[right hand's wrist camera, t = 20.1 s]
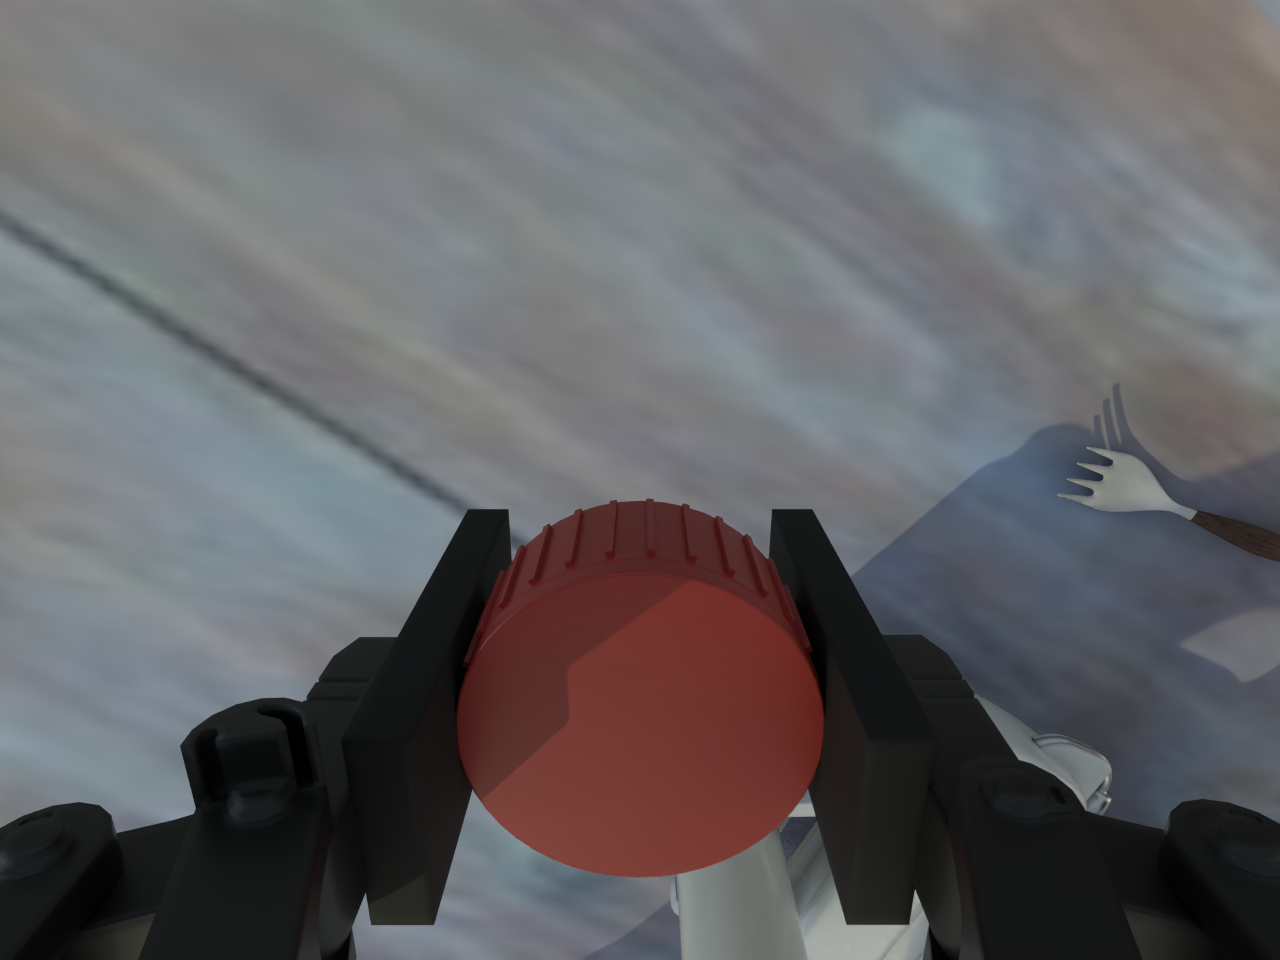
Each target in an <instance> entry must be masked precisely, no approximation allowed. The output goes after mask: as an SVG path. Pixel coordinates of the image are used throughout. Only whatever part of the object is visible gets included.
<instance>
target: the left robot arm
mask: <svg viewBox="0 0 1280 960" xmlns="http://www.w3.org/2000/svg"><path fill="white" fill-rule="evenodd" d="M974 698H977V699H978V700H979V702H980V703H981V704H982V706H983V707H984V709H985V710H986V712H987V713H988V715H989V716H990V718H991V719H992V721H993V722H994V724H995V725H996V727H997V728H998V730H999V731H1000V733H1001V734H1002V736H1003V737H1004V739H1005V740H1006V742H1007V743H1008V744H1009V746H1010V747H1011V749H1012V750H1013V752H1014V753H1015V755H1016V756H1017V758H1018V759H1019V760H1021V761H1025V762H1029V763H1032V764H1034V765H1036V766H1038V767H1040V768H1042V769H1044V770H1046V771H1048V772H1050V773H1051V774H1053V775H1055V776H1056V777H1057V778H1059V779H1060V780H1061V781H1062V782H1063V783H1065V784H1066V785H1067V786H1068V787H1069V788H1071V789H1072V790H1073V791H1074V793H1075V794H1076V796H1077V797H1078V799H1079V800H1080V802H1081V803H1082V805H1083V807H1084V808H1085V810H1086V811H1089V812H1092V813H1095V814H1099V815H1103V814H1104V813H1105V812H1106V810H1107V809H1108V807H1109V805H1110V803H1111V801H1112V796H1111V794H1110V793H1109V792H1108V789H1109V787H1110V785H1111V782H1112V767H1111V765H1110V762H1109V761H1108V759H1107V758H1106V757H1105V756H1104V755H1103V754H1102V753H1101V752H1100V751H1098V750H1097V749H1094V748H1093V747H1091V746H1089V745H1086V744H1084V743H1082V742H1079V741H1077V740H1074V739H1072V738H1070V737H1067V736H1065V735H1061V734H1043V735H1038V734H1037V733H1036V732H1035V731H1033V730H1032V729H1031V728H1029V727H1028V726H1027V725H1025V724H1024V723H1023V722H1021V721H1020V720H1018V719H1017V718H1015V717H1014V716H1012V715H1011V714H1009V713H1008V712H1006V711H1005V710H1003V709H1001V708H1000V707H998V706H996V705H995V704H993V703H991V702H990V701H988V700H986V699H984V698H982V697H980V696H979V695H977V694H975V693H974ZM788 817H815V812H814V809H813V805H812V802H811V798H810V795H809V791H808V789H807V791H806V793H805V795H804V796H803V798H802V799H801V801H800V802H799V803H798V805H797V806H796V807H795V809H794V810H793V811H792V813H791V814H790V815H789V816H788ZM776 829H777V828H776ZM776 829H775V830H776ZM787 867H788V871H789V875H790V880H791V884H792V889H793V893H794V897H795V902H796V906H797V911H798V915H799V919H800V924H801V928H802V933H803V937H804V941H805V946H806V950H807V955H808V959H809V960H923V954H924V948H925V943H926V937H927V931H928V926H929V923H928V920H927V918H926V915H925V913H924V910H923V908H922V905H921V903H920V900H919V898H918V895H917V893H916V890H915V893H914V899H913V905H912V911H911V917H910V923H909V925H846V921H845V918H844V914H843V911H842V907H841V904H840V900H839V897H838V893H837V890H836V886H835V883H834V879H833V876H832V872H831V869H830V865H829V861H828V858H827V854H826V851H825V847H824V844H823V840H822V837H821V833H820V830H819V826H818V823H817V821H816V823H815V824H814V825H813V827H812V828H811V830H810V831H809V832H808V834H807V835H806V837H805V838H804V840H803V841H802V842H801V844H800V845H799V847H798V848H797V849H796V851H795V852H794V854H793V855H792V857H791V858H790V859H789V861H788V862H787ZM670 896H671V908H672V909H673V911H674V913H675V914H677V915H678V916H679V910H678V894H677V878H676V877H675V878H674V879H673V881H672V883H671V885H670Z"/></svg>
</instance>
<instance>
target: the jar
mask: <svg viewBox="0 0 1280 960" xmlns="http://www.w3.org/2000/svg"><path fill="white" fill-rule="evenodd" d="M676 878H677V894H678V910H679V926H680V943H681V959H682V960H809V959H808V955H807V950H806V946H805V941H804V937H803V933H802V928H801V924H800V919H799V915H798V911H797V906H796V902H795V897H794V893H793V889H792V884H791V880H790V875H789V871H788V867H787V862H786V858H785V853H784V849H783V845H782V840H781V836H780V831H779V827H777V829H776V830H773V831H772V832H771V833H770V834H768V835H767V836H766V837H765V838H764V839H762V840H761V841H759V842H758V843H756V844H755V845H753V846H751V847H750V848H748V849H747V850H745V851H744V852H741V853H739V854H737V855H735V856H733V857H731V858H729V859H727V860H725V861H722V862H720V863H717V864H714V865H711V866H709V867H706V868H703V869H699V870H695V871H690V872H686V873H682V874H676Z"/></svg>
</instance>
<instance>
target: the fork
mask: <svg viewBox="0 0 1280 960" xmlns="http://www.w3.org/2000/svg"><path fill="white" fill-rule="evenodd" d="M1086 448H1087V449H1089V450H1092V451H1094V452H1096V453H1098V454H1101V455H1103V456H1105V457H1107V458H1110V459H1111V460H1113V464H1112V465H1111V466H1101V465H1095V464H1087V463H1078V462H1077V464H1078V465H1080V466H1083V467H1085V468H1087V469H1090V470H1092V471H1095V472H1097V473H1100V474H1102V475H1103V477H1104V478H1103V479H1102V480H1101V481H1091V480H1083V479H1074V478H1067V480H1069V481H1072V482H1074V483H1077V484H1080V485H1082V486H1085V487H1088V488H1090V489H1092V490H1093V491H1094V494H1093V495H1091V496H1082V495H1074V494H1060V493H1058V494H1057V496H1059V497H1064V498H1067V499H1070V500H1073V501H1076V502H1079V503H1082V504H1085V505H1087V506H1090V507H1092V508H1094V509H1097V510H1101V511H1107V512H1130V511H1145V510H1164V511H1170V512H1174V513H1176V514H1179V515H1181V516H1183V517H1185V518H1187V519H1188V520H1190V521H1192V522H1194V523H1196V524H1197V525H1199V526H1201V527H1203V528H1204V529H1206V530H1208V531H1210V532H1212V533H1213V534H1215V535H1217V536H1219V537H1221V538H1222V539H1224V540H1226V541H1228V542H1230V543H1232V544H1233V545H1235V546H1237V547H1239V548H1241V549H1244V550H1246V551H1248V552H1250V553H1253V554H1255V555H1258V556H1261V557H1264V558H1268V559H1271V560H1275V561H1278V562H1280V536H1279V535H1277V534H1275V533H1273V532H1270V531H1268V530H1265V529H1263V528H1260V527H1257V526H1254V525H1251V524H1247V523H1244V522H1240V521H1236V520H1233V519H1229V518H1225V517H1222V516H1218V515H1214V514H1210V513H1206V512H1203V511H1199V510H1195V509H1192V508H1188V507H1185V506H1182V505H1180V504H1178V503H1176V502H1174V501H1173V500H1172V499H1171V498H1170V497H1169V496H1168V495H1167V494H1166V493H1165V491H1164V490H1163V488H1162V487H1161V486H1160V484H1159V483H1158V481H1157V480H1156V478H1155V477H1154V475H1153V474H1152V472H1151V471H1150V470H1149V468H1148V467H1147V466H1146V465H1145V464H1144V463H1143V462H1142V461H1141V460H1140V459H1138V458H1137V457H1135V456H1133V455H1130V454H1126V453H1121V452H1116V451H1112V450H1107V449H1101V448H1095V447H1089V446H1087V447H1086Z"/></svg>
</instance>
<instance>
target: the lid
mask: <svg viewBox="0 0 1280 960" xmlns="http://www.w3.org/2000/svg"><path fill="white" fill-rule="evenodd" d="M811 652H813V649H812V646H811V644H810V641H809V638H808V636H807V633H806V630H805V628H804V625H803V623H802V620H801V617H800V615H799V612H798V610H797V607H796V604H795V602H794V599H793V596H792V594H791V591H790V589H789V586H788V585H784V586H783V585H782V582H781V579H780V577H779V574H778V571H777V569H776V566H775V563H774V561H773V560H772V558H771V557H770V558H768V559H766V558H765V557H764V555H763V554H762V553H761V552H760V551H759V550H758V549H757V548H756V546H755V545H753V542H752V538H751V537H750V536H749V535H747V534H746V535H745V536H743V535H742V534H741V533H739V532H738V531H736V530H735V529H733V528H732V527H730V526H728V525H727V524H725V523H724V522H723V518H721V517H719V516H716V518H714V517H711V516H709V515H707V514H705V513H703V512H699V511H696V510H693V509H690V506H689V505H687V504H682V506H679V505H674V504H669V503H664V502H654V501H653V499H646V501H631V502H618V503H617V500H614V501H610V504H606V505H601V506H597V507H594V508H590V509H587V510H584V511H582V509H578V510H575V513H574V515H571V516H569V517H567V518H565V519H563V520H560V521H559V522H557V523H556V524H554V525H552V526H551V525H550V524H547V525H546V526H544V528H543V531H542V533H540V534H539V535H538V536H537V537H535V538H534V539H533V540H532V541H531V542H529V543H528V544H527V545H526V546H523V545H521V546H520V547H519V548H518V550H517V552H516V555H515V558H514V560H513V561H512V563H511V564H510V566H509V567H508V569H507V570H506V571H503V570H501V571H500V573H499V574H498V577H497V579H496V582H495V585H494V587H493V590H492V592H491V595H490V598H488V599H487V601H486V604H485V606H484V609H483V612H482V614H481V617H480V619H479V622H478V625H477V627H476V630H475V633H474V635H473V638H472V640H471V643H470V646H469V648H468V651H467V653H466V656H465V659H464V661H463V664H462V667H463V668H467V670H466V673H465V675H464V679H463V682H462V685H461V688H460V691H459V694H458V701H457V707H456V728H457V739H458V748H459V756H460V759H461V762H462V765H463V768H464V771H465V774H466V776H467V778H468V780H469V782H470V784H471V786H472V788H473V790H474V792H475V794H476V795H477V796H478V798H479V799H480V801H481V802H482V804H483V805H484V807H485V808H486V809H487V810H488V812H489V813H490V814H491V815H492V816H493V817H494V818H495V819H496V820H497V821H498V822H499V824H500V825H502V826H503V827H504V828H505V829H506V830H507V831H509V832H510V833H511V834H512V835H513V836H515V837H516V838H517V839H519V840H520V841H522V842H523V843H525V844H526V845H528V846H529V847H531V848H532V849H534V850H536V851H538V852H540V853H542V854H544V855H545V856H547V857H549V858H551V859H553V860H556V861H559V862H561V863H564V864H567V865H569V866H572V867H575V868H579V869H583V870H586V871H590V872H594V873H600V874H606V875H612V876H622V877H661V876H668V875H675V874H682V873H686V872H690V871H695V870H699V869H703V868H706V867H709V866H711V865H714V864H717V863H720V862H722V861H725V860H727V859H729V858H731V857H733V856H735V855H737V854H739V853H741V852H744V851H745V850H747V849H748V848H750V847H751V846H753V845H755V844H756V843H758V842H759V841H761V840H762V839H764V838H765V837H766V836H767V835H768V834H770V833H771V832H772V831H773V830H775V829H776V828H777V827H778V826H779V825H780V824H781V823H782V822H783V821H784V820H785V819H786V818H787V817H788V816H789V815H790V814H791V813H792V811H793V810H794V809H795V807H796V806H797V805H798V803H799V802H800V801H801V799H802V798H803V796H804V795H805V793H806V791H807V789H808V787H809V786H810V784H811V782H812V780H813V778H814V776H815V773H816V770H817V767H818V764H819V762H820V759H821V753H822V745H823V735H824V724H825V711H824V703H823V696H822V693H821V690H820V686H819V683H818V680H819V679H818V676H817V673H816V671H815V668H814V665H813V662H812V660H811V657H810V654H809V653H811Z"/></svg>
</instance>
